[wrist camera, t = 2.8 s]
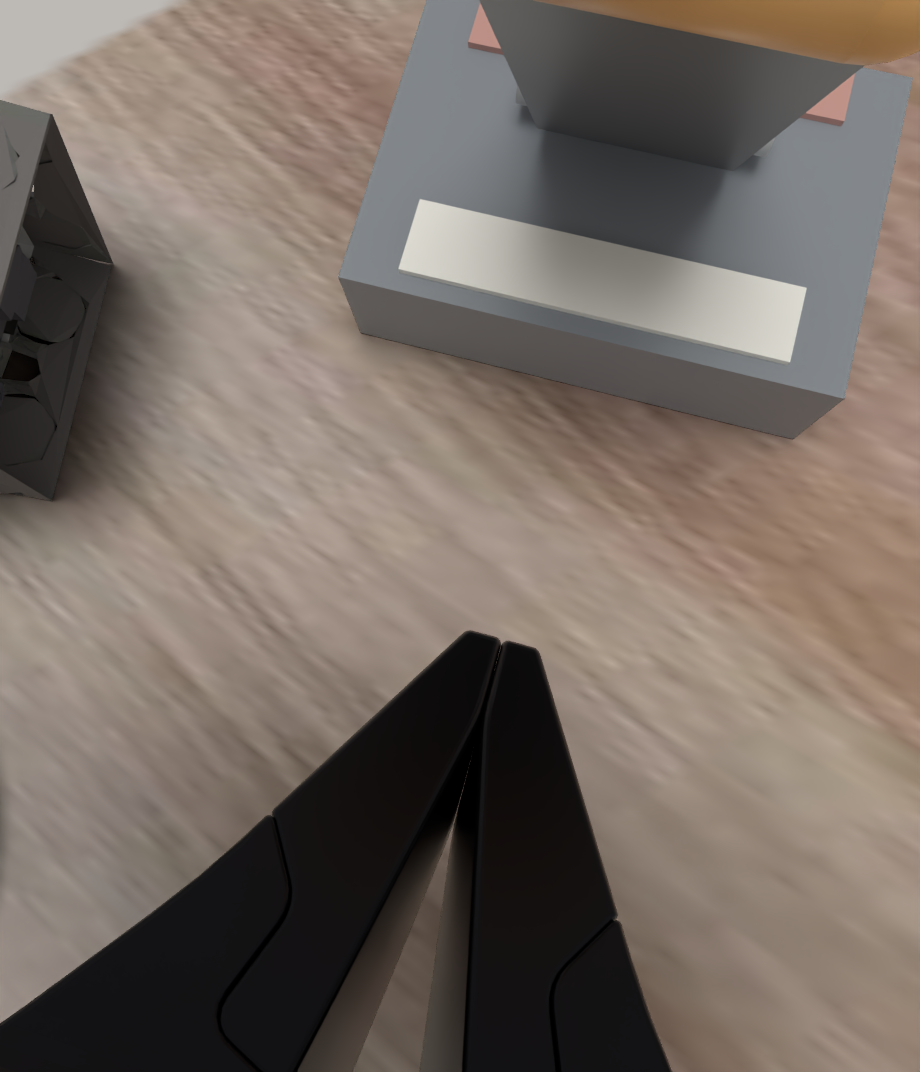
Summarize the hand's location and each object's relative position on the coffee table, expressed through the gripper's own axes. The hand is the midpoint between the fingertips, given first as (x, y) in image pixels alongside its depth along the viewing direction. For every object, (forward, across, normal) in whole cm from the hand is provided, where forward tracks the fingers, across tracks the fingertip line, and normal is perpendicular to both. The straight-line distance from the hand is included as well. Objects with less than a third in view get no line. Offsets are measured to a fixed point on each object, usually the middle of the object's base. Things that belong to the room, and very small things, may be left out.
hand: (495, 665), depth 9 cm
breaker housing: (+19, 0, 0) cm, 19 cm away
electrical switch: (+13, +15, +6) cm, 21 cm away
